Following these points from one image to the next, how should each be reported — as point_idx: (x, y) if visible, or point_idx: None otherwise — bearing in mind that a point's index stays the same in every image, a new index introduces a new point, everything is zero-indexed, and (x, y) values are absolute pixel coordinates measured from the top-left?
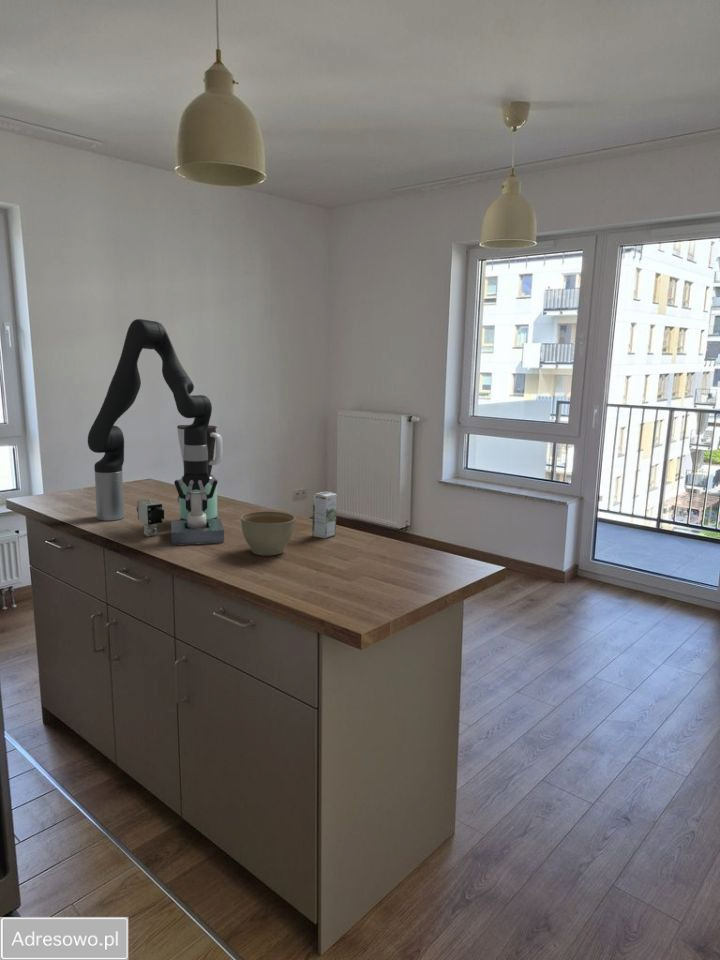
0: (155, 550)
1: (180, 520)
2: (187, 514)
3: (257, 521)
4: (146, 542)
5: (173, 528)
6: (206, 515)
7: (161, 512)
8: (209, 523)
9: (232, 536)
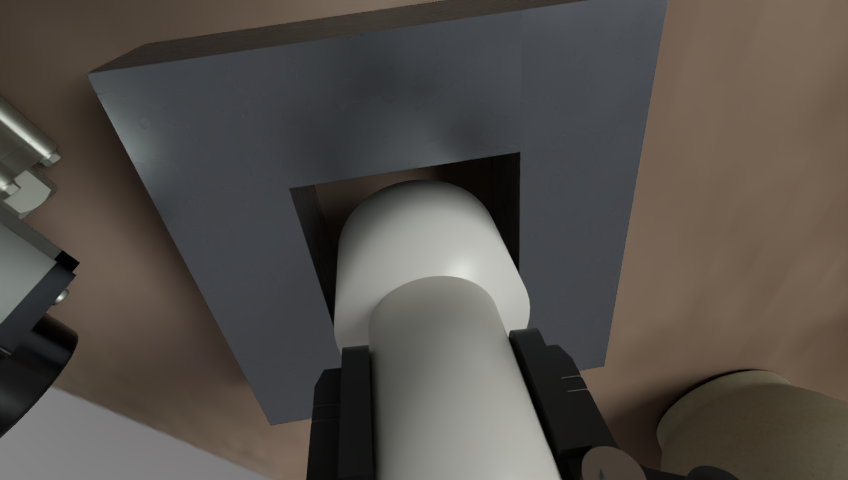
0: (227, 424)
1: (201, 61)
2: (334, 328)
3: (818, 471)
4: (91, 315)
5: (247, 344)
6: None
7: (34, 398)
8: (528, 200)
9: (649, 185)
